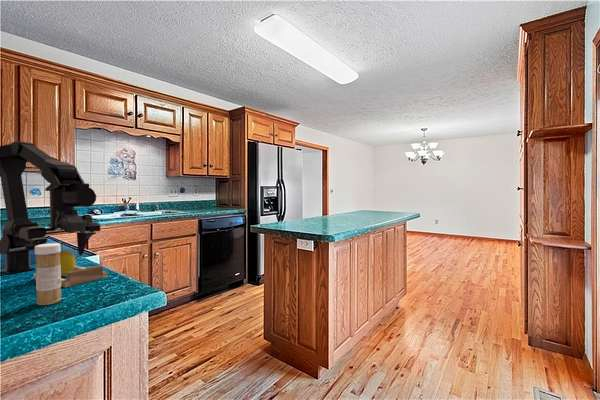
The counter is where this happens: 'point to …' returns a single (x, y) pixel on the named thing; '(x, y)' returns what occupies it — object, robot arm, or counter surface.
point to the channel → (82, 275)
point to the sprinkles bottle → (48, 273)
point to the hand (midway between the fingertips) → (63, 258)
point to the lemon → (67, 262)
